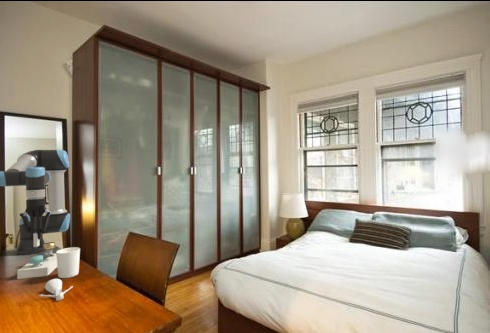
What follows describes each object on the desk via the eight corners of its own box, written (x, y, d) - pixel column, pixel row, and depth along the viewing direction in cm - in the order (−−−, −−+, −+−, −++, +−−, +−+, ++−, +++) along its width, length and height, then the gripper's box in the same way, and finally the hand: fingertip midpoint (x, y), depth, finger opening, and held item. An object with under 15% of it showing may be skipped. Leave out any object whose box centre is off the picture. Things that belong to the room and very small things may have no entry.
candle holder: (85, 271, 136) (84, 247, 136) (70, 279, 127) (70, 253, 127) (66, 271, 137) (66, 247, 137) (51, 278, 128) (50, 253, 128)
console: (40, 262, 152) (40, 255, 152) (65, 259, 155) (64, 252, 155) (17, 279, 128) (17, 270, 128) (47, 275, 131) (47, 267, 132)
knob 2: (46, 255, 151) (45, 242, 151) (56, 253, 153) (56, 241, 153) (42, 257, 146) (41, 245, 146) (53, 256, 148) (53, 244, 148)
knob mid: (39, 264, 143) (39, 251, 144) (51, 263, 145) (51, 250, 145) (35, 268, 138) (35, 254, 139) (47, 266, 140) (47, 253, 140)
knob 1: (32, 269, 136) (32, 255, 136) (45, 268, 137) (44, 254, 137) (27, 273, 131) (27, 259, 131) (40, 271, 132) (40, 257, 132)
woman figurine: (68, 273, 122) (77, 288, 109) (68, 283, 123) (77, 298, 109) (35, 281, 114) (41, 297, 101) (35, 291, 115) (42, 309, 101)
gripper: (16, 199, 129) (16, 249, 129) (48, 198, 133) (49, 246, 133) (23, 198, 136) (24, 245, 136) (54, 196, 140) (54, 242, 140)
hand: (36, 246), depth 135 cm, fingers closed
